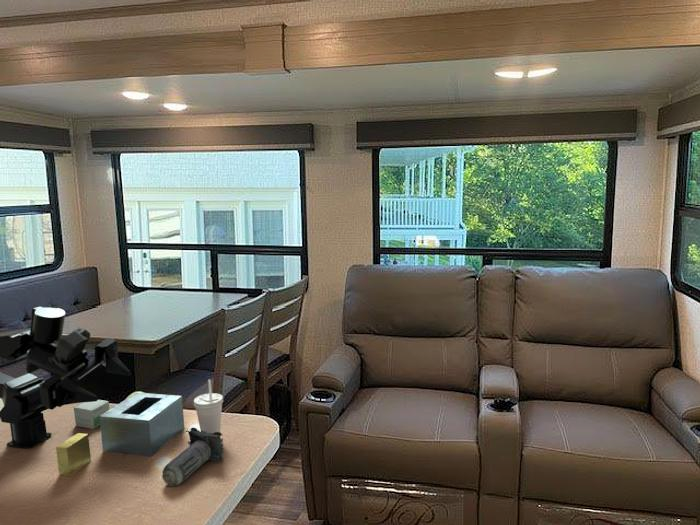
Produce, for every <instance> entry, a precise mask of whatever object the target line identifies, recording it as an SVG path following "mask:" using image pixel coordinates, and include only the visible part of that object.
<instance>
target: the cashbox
mask: <svg viewBox="0 0 700 525" xmlns="http://www.w3.org/2000/svg"><path fill="white" fill-rule="evenodd" d="M126 398H127V397H126ZM126 398H125V399H124V400H123V401H121V402H120V403H118V404H116V405H114V406H113V407H111V408H109V410H108V411H107V412H105V413H104V414H102V415H100V416H99V418H100V425H99V426H100V427H99V428H100V434H101V435H100V436H101V443H102V444H101V445H102V452H108V453H109V452H110V453H117V452H118V453H119V454H127V455H139V456H148V457H153V456H155V454H157V453H158V452H159V451H161V449H162V448H163V447H165V446H166V445H167V444H168V443H170V441H171V440H173V439H174V438H175V437H176V436H177V435H178V434H180V433H181V432H182V431H183V430H184V429H185V420H184V419H185V417H184V416H185V415H184V406H183V395H176V394H175V395H174V394H160V393H147V392H144V393H135V394H134V395H132V396H130V397H129V398H127V399H126Z"/></svg>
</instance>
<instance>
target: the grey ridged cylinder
mask: <svg viewBox="0 0 700 525" xmlns="http://www.w3.org/2000/svg"><path fill="white" fill-rule="evenodd" d="M185 433H188V437H189V440H188V441H187V444H188V447H186V449H184V450H182V452H181V453H179V454H178V455H177V456H176V457H174V458H173V459H172V460H171V461H169V462H168V463H167V464H166V465H164V468H163V469H162V476H161V477H162V480H163V481H164V483H165V484H167V485H168V486H171V487H175V486H178V485H181V483H183V482H184V481H185V480H186V479H187V478H189V476H191V475H192V474H193V473H195V471H196V470H197V469H199V468H200V467H201V466H202V465H203V464H204V463H205V462H206V461H213V462H217V463H222V462H223V461H224V457H223V455H224V443H223V442H224V439H223V438H222V437H223V436H224V435H223V433H222V432H221V431H220V432H214V433H206V431H201V430H200V429H199V430H198V428H197V427H190V429H186V430H185ZM221 436H222V437H221Z"/></svg>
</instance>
